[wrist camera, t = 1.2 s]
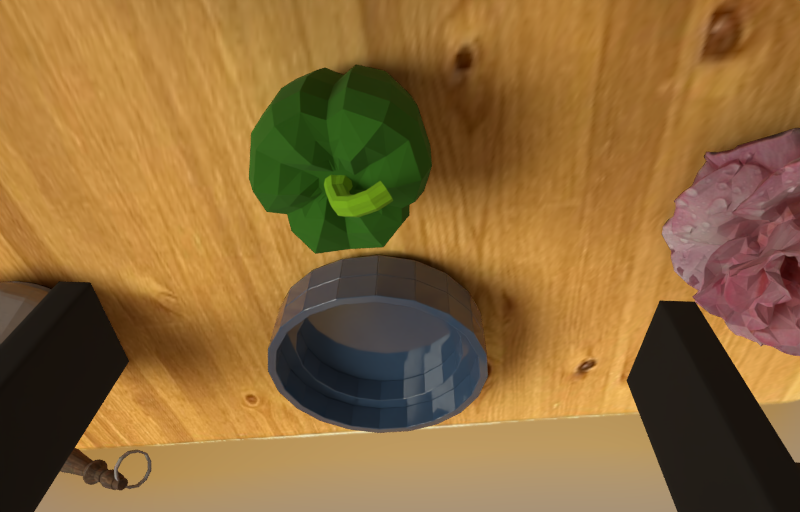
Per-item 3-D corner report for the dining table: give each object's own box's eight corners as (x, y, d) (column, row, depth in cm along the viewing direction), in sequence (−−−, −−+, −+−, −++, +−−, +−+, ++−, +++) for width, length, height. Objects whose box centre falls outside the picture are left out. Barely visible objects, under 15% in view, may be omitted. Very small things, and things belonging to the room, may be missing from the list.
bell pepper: (296, 184, 31) (258, 299, 23) (261, 47, 26) (196, 138, 18) (432, 175, 30) (438, 290, 23) (424, 33, 25) (429, 120, 17)
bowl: (279, 374, 43) (267, 420, 40) (282, 234, 33) (267, 280, 30) (454, 395, 45) (457, 441, 41) (507, 267, 35) (517, 314, 31)
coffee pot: (30, 370, 44) (-106, 559, 32) (-80, 276, 37) (-304, 476, 25) (253, 334, 40) (189, 534, 29) (179, 222, 33) (54, 428, 22)
